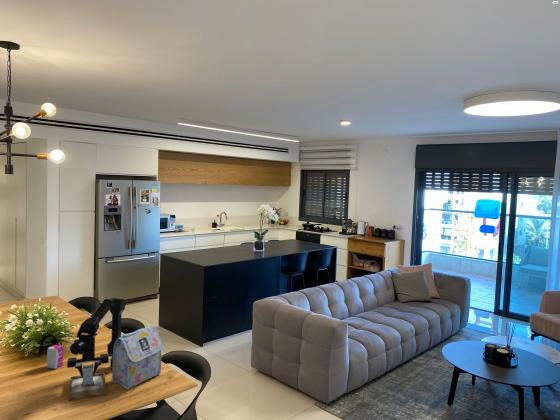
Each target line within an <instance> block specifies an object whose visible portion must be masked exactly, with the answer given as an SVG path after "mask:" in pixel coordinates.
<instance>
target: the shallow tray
mask: <svg viewBox="0 0 560 420" xmlns="http://www.w3.org/2000/svg"><path fill="white" fill-rule="evenodd" d="M68 391H69V392H68V401H76V400H83V399H89V398H97V397H103V396H106V373H105V372H98V373H96V372H95V375H94V377H93V383H92V384H85V385H83V378H82V376H81V375H75V376H74V375H73V376H70V382H69V390H68Z"/></svg>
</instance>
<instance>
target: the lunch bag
mask: <svg viewBox="0 0 560 420" xmlns="http://www.w3.org/2000/svg"><path fill="white" fill-rule="evenodd" d="M162 349H163V342H162V339H161V337H160V335H159V333H158V329H157V327H156V326H155V325H152V326H148V327H146V326H145V327H143V328H139V329H137V330H135V331H133V332H130V333H129V332H128V333H123V334H122V335H121V337H120V338H118V339H117V340H116V342H115V343H114V348H113V367H112V369H111V371H112V372H111V373H112V374H111V377H112V380H111V381H112V383H116V384H120V385H121V387H123V388H124V389H126V390H129V389H131V388H134V387H135V386H137V385H139V384H141V383H143V382H146V381H147V380H149V379H152V378H154V377H156V376H158V375H161V372H162Z"/></svg>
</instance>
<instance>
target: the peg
mask: <svg viewBox="0 0 560 420" xmlns="http://www.w3.org/2000/svg"><path fill="white" fill-rule="evenodd" d="M82 369H83V385H85V384H92V383H93V370H94V363H91V364H82Z"/></svg>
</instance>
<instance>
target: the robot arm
mask: <svg viewBox="0 0 560 420" xmlns="http://www.w3.org/2000/svg"><path fill="white" fill-rule="evenodd" d="M125 309H126V300H125V299H124V298H118V297H111V298H104V299H103V301H102V303H101V304H100V306H99V307H98V308H97V309H96V311H95V312H94V313H93V314H92V315H91V316H90V317H88V318H86V319H85V320H84V321H83V322H82V323H81V324H80V326H79V328H78V331H77V333H76V336H75V338H76V339H74V340H73V343H72V344H70V347H69V350H70V353H71V354H72V355H75V357H68V359H67V362H66V368H68V369H71V368H74V369H77V371H78V372H79V374H80V376H82V378H83V364H86V363H93V377H94V375H95V374H96V372H97V370H98V368H99V367H100V366H101V365H103V364H109V363H110V366H109V367H110V369H111V370H112V367H113V348H114V343H115V342H116V340H117V339H118V338H120V337H122V317H123V314H122V313H123V312H124V311H125ZM108 312H109V313H111V339H110V342H109V343H108V344H107V350H106V351H107V353H103V354H102V353H100V355H99V356H96V355H95V354H96V353H95V352H96V349H95V348H96V336H98V333H97V332H98V330H99V329H100V323H101V322H102V321H103V319H104V318H105V316H106V315H107V313H108ZM78 355H81V358H80V359H77V357H76V356H78ZM95 356H96V357H95ZM109 357H111V358H110V360H109ZM109 361H110V362H109Z"/></svg>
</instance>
